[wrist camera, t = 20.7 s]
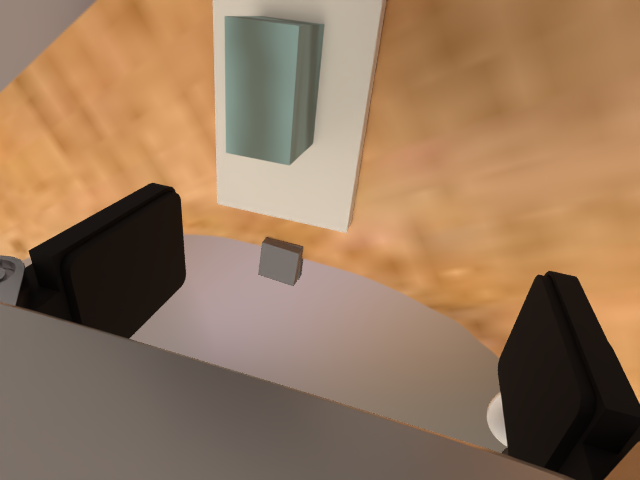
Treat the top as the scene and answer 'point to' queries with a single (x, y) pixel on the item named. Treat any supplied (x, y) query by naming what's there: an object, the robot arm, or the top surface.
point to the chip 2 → (296, 247)
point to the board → (330, 123)
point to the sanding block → (271, 86)
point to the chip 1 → (279, 261)
